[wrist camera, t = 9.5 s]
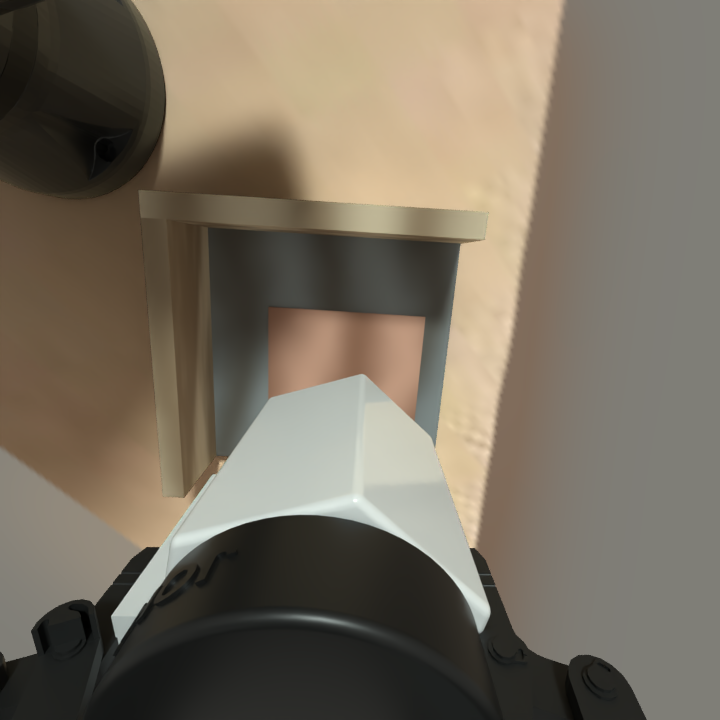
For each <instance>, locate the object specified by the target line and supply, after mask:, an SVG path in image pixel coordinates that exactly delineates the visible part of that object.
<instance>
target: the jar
mask: <svg viewBox="0 0 720 720" xmlns="http://www.w3.org/2000/svg"><path fill="white" fill-rule="evenodd" d="M490 614H491V611H490V605H489V603H488V600H487V597H486V594H485V591H484V588H483V585H482V582H481V580H480V577H479V574H478V571H477V568H476V565H475V562H474V559H473V557H472V554H471V551H470V548H469V545H468V542H467V539H466V536H465V533H464V531H463V528H462V525H461V522H460V519H459V516H458V513H457V510H456V508H455V505H454V502H453V499H452V496H451V493H450V490H449V487H448V484H447V482H446V479H445V476H444V473H443V470H442V467H441V464H440V461H439V459H438V456H437V453H436V450H435V447H434V444H433V441H432V438H431V437H430V436H429V435H428V434H427V433H426V432H425V431H424V430H423V429H422V428H421V427H420V426H419V425H418V424H417V423H416V422H415V421H413V420H412V419H411V418H410V417H409V416H408V415H407V414H406V413H405V412H404V411H403V410H402V409H401V408H400V407H399V406H398V405H396V404H395V403H394V402H393V401H392V400H391V399H390V398H389V397H388V396H387V395H386V394H385V393H384V392H383V391H382V390H381V389H380V388H378V387H377V386H376V385H375V384H374V383H373V382H372V381H371V380H370V379H369V378H368V377H367V376H366V375H364V374H359V375H355V376H351V377H347V378H343V379H340V380H336V381H332V382H328V383H324V384H320V385H317V386H313V387H309V388H305V389H301V390H297V391H294V392H290V393H286V394H282V395H278V396H275V397H271V398H270V399H269V400H268V401H267V402H266V404H265V405H264V407H263V408H262V410H261V411H260V413H259V414H258V415H257V417H256V418H255V420H254V421H253V423H252V424H251V425H250V427H249V428H248V430H247V431H246V433H245V434H244V436H243V437H242V438H241V440H240V441H239V443H238V444H237V446H236V447H235V449H234V450H233V451H232V453H231V454H230V456H229V457H228V459H227V460H226V461H225V463H224V464H223V466H222V467H221V469H220V470H219V472H218V473H217V474H216V476H215V477H214V479H213V480H212V482H211V483H210V485H209V486H208V487H207V489H206V490H205V492H204V493H203V495H202V496H201V497H200V499H199V500H198V502H197V503H196V505H195V506H194V508H193V509H192V510H191V512H190V513H189V515H188V516H187V518H186V519H185V520H184V522H183V523H182V525H181V526H180V528H179V529H178V530H177V532H176V533H175V535H174V536H173V538H172V540H171V543H170V548H169V555H168V562H167V569H166V576H165V580H164V581H163V583H162V584H161V586H160V587H159V588H158V589H157V590H156V591H155V592H154V594H153V595H152V597H151V599H150V600H149V602H148V603H145V604H144V606H143V607H142V609H141V610H140V612H139V613H138V615H137V617H136V618H135V620H134V621H133V623H132V624H131V626H130V627H129V629H128V631H127V632H126V634H125V635H124V637H123V638H122V640H121V641H120V644H119V645H118V647H117V648H116V650H115V652H114V654H113V656H115V659H114V660H113V662H112V663H111V665H110V666H109V668H108V670H107V671H106V673H105V675H104V676H103V678H102V679H101V681H100V683H99V684H98V686H97V687H96V689H95V691H94V693H93V695H92V697H91V699H90V701H89V703H88V705H87V708H86V710H85V714H84V717H83V720H504V718H503V714H502V711H501V707H500V704H499V701H498V697H497V694H496V690H495V687H494V684H493V680H492V677H491V673H490V670H489V667H488V663H487V660H486V656H485V653H484V649H483V646H482V643H481V639H480V636H479V634H480V633H482V632H483V631H484V628H485V626H486V624H487V622H488V620H489V617H490Z"/></svg>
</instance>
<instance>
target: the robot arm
mask: <svg viewBox="0 0 720 720" xmlns="http://www.w3.org/2000/svg"><path fill="white" fill-rule="evenodd" d="M164 107H165V87H164V77H163V71H162V66H161V62H160V58H159V54H158V51H157V48H156V45H155V42H154V40H153V37H152V35H151V33H150V30H149V28H148V26H147V24H146V22H145V21H144V19H143V17H142V15H141V14H140V12H139V11H138V9H137V8H136V6H135V5H134V3H133V2H132V1H131V0H0V180H2V181H4V182H6V183H8V184H11V185H13V186H16V187H18V188H21V189H24V190H27V191H31V192H35V193H40V194H45V195H50V196H55V197H60V198H68V199H83V198H91V197H96V196H100V195H103V194H106V193H109V192H111V191H113V190H115V189H117V188H119V187H120V186H122V185H124V184H125V183H126V182H128V181H129V180H130V179H131V178H132V177H134V176H135V175H136V174H137V173H138V171H139V170H140V169H141V168H142V167H143V165H144V164H145V163H146V161H147V160H148V158H149V157H150V155H151V153H152V151H153V149H154V147H155V145H156V142H157V140H158V137H159V134H160V130H161V126H162V122H163V116H164ZM215 476H216V474H212V476H211V477H210V478H209V480H208V481H207V483H206V484H205V485H204V487H203V488H202V490H201V491H200V492H199V494H198V495H197V497H196V498H195V499H194V501H193V502H192V504H191V505H190V506H189V508H188V509H187V511H186V512H185V513H184V515H183V516H182V518H181V519H180V520H179V522H178V523H177V525H176V526H175V527H174V529H173V530H172V532H171V533H170V534H169V536H168V537H167V539H166V540H165V541H164V543H163V544H162V546H161V547H146V548H145V549H144V550H142V551H141V552H140V553H139V554H137V555H136V556H135V557H133V558H132V559H131V560H130V562H129V563H128V564H127V566H126V567H125V568H124V569H123V570H122V573H121V574H120V575H119V576H118V577H117V578H116V579H115V581H114V582H113V585H111V586H110V587H109V588H108V590H107V591H106V592H105V593H104V595H103V596H102V597H101V599H100V600H99V601H98V602H97V604H96V605H95V606H94V605H93V604H92V602H91V601H88V600H83V599H81V600H74V601H70V602H67V603H65V604H62V605H59V606H58V607H56V608H54V609H53V610H51V611H50V612H48V613H47V614H46V615H44V616H43V617H42V618H41V619H40V620H39V621H38V622H37V623H36V624H35V626H34V627H33V629H32V630H31V633H32V636H33V639H34V643H35V646H36V650H37V654H34V655H30V656H27V657H23V658H20V659H16V660H12V661H8V662H5V659H4V656H3V654H2V653H1V652H0V720H83V717H84V714H85V710H86V708H87V705H88V703H89V701H90V699H91V697H92V695H93V693H94V691H95V689H96V687H97V686H98V684H99V683H100V681H101V679H102V678H103V676H104V675H105V673H106V671H107V670H108V668H109V666H110V665H111V663H112V662H113V660H114V659H115V656H113V654H114V652H115V650H116V648H117V647H118V645H119V644H120V641H121V640H122V638H123V637H124V635H125V634H126V632H127V631H128V629H129V627H130V626H131V624H132V623H133V621H134V620H135V618H136V617H137V615H138V613H139V612H140V610H141V609H142V607H143V606H144V604H145V603H148V602H149V600H150V599H151V597H152V595H153V594H154V592H155V591H156V590H157V589H158V588H159V587H160V586H161V584H162V583H163V581H164V580H165V576H166V569H167V562H168V555H169V548H170V543H171V540H172V538H173V536H174V535H175V533H176V532H177V530H178V529H179V528H180V526H181V525H182V523H183V522H184V520H185V519H186V518H187V516H188V515H189V513H190V512H191V510H192V509H193V508H194V506H195V505H196V503H197V502H198V500H199V499H200V497H201V496H202V495H203V493H204V492H205V490H206V489H207V487H208V486H209V485H210V483H211V482H212V480H213V479H214V477H215ZM470 551H471V554H472V557H473V559H474V562H475V565H476V568H477V571H478V574H479V577H480V580H481V582H482V585H483V588H484V591H485V594H486V597H487V600H488V603H489V605H490V611H491V614H490V617H489V620H488V622H487V624H486V626H485V628H484V631H483V632H482V633H480V634H479V636H480V639H481V643H482V646H483V649H484V653H485V656H486V660H487V663H488V667H489V670H490V673H491V677H492V680H493V684H494V687H495V690H496V694H497V697H498V701H499V704H500V707H501V711H502V714H503V718H504V720H646V717H645V715H644V713H643V711H642V709H641V707H640V705H639V703H638V701H637V699H636V697H635V694H634V692H633V690H632V688H631V687H630V685H629V684H628V682H627V681H626V679H625V678H624V676H623V675H622V674H621V673H620V672H619V671H618V670H617V669H616V668H614V667H613V666H612V665H610V664H609V663H607V662H605V661H604V660H602V659H600V658H597V657H594V656H591V655H578V656H576V657H575V658H573V659H572V660H571V661H570V664H569V666H568V665H565V664H561V663H558V662H555V661H552V660H549V659H546V658H544V657H541V656H539V655H537V654H536V653H534V652H532V651H531V650H529V649H528V648H527V646H526V645H525V643H524V642H523V641H522V640H521V639H520V638H519V637H518V636H517V635H516V634H515V633H514V631H513V629H512V626H511V624H510V621H509V618H508V616H507V613H506V611H505V608H504V606H503V603H502V601H501V598H500V596H499V593H498V591H497V588H496V587H495V583H494V580H493V578H492V576H491V573H490V570H489V568H488V565H487V563H486V560H485V559H484V558H483V557H482V556H481V555H480V553H479V552H478V551H477V550H476V549H475V548H470Z"/></svg>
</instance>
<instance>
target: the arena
mask: <svg viewBox="0 0 720 720" xmlns="http://www.w3.org/2000/svg"><path fill="white" fill-rule="evenodd" d="M138 194H139V206H140V219H141V231H142V244H143V256H144V269H145V281H146V294H147V306H148V319H149V331H150V344H151V356H152V369H153V381H154V394H155V406H156V419H157V431H158V443H159V456H160V468H161V481H162V493H163V497H179V498H184V497H185V496H186V495H187V493H188V492H189V491H190V489H191V488H192V487H193V485H194V484H195V483H196V482H197V480H198V479H199V478H200V476H201V475H202V474H203V472H204V471H205V470H206V468H207V467H208V466H209V465H210V463H211V462H212V461H213V459H214V458H215V457H216V455H217V456H230V454H231V453H232V451H233V450H234V449H235V447H236V446H237V444H238V443H239V441H240V440H241V438H242V437H243V436H244V434H245V433H246V431H247V430H248V428H249V427H250V425H251V424H252V423H253V421H254V420H255V418H256V417H257V415H258V414H259V413H260V411H261V410H262V408H263V407H264V405H265V404H266V402H267V401H268V400H269V399H270V398H271V397H275V396H278V395H282V394H286V393H290V392H294V391H297V390H301V389H305V388H309V387H313V386H317V385H320V384H324V383H328V382H332V381H336V380H340V379H343V378H347V377H351V376H355V375H359V374H364V375H366V376H367V377H368V378H369V379H370V380H371V381H372V382H373V383H374V384H375V385H376V386H377V387H378V388H380V389H381V390H382V391H383V392H384V393H385V394H386V395H387V396H388V397H389V398H390V399H391V400H392V401H393V402H394V403H395V404H396V405H398V406H399V407H400V408H401V409H402V410H403V411H404V412H405V413H406V414H407V415H408V416H409V417H410V418H411V419H412V420H413V421H415V422H416V423H417V424H418V425H419V426H420V427H421V428H422V429H423V430H424V431H425V432H426V433H427V434H428V435H429V436H430V437H431V438H432V441H433V444H434V447H435V445H436V437H437V429H438V420H439V412H440V404H441V396H442V388H443V380H444V372H445V364H446V356H447V348H448V340H449V332H450V324H451V316H452V307H453V299H454V291H455V283H456V275H457V267H458V259H459V251H460V244H462V243H468V242H474V241H480V240H485V236H486V228H487V221H488V214H489V212H478V211H462V210H447V209H431V208H415V207H400V206H384V205H369V204H353V203H337V202H322V201H306V200H291V199H275V198H260V197H244V196H228V195H213V194H197V193H182V192H166V191H151V190H138Z"/></svg>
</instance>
